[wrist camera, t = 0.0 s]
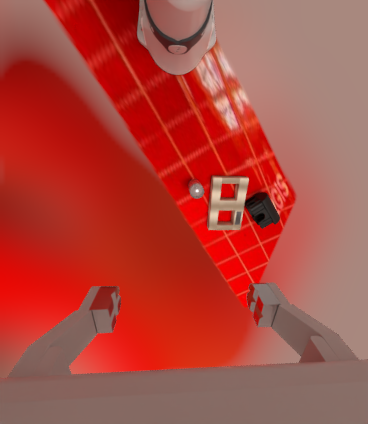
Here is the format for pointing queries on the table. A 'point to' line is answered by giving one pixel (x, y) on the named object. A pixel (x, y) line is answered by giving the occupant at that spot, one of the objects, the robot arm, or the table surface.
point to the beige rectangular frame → (227, 202)
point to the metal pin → (195, 188)
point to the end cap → (262, 210)
